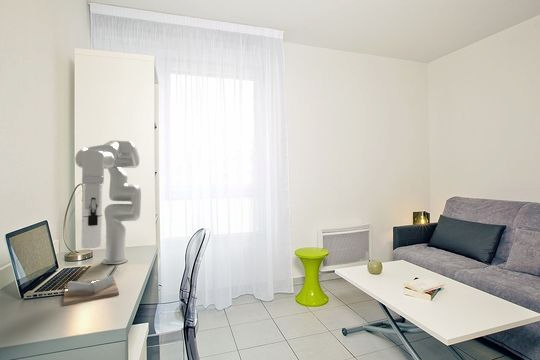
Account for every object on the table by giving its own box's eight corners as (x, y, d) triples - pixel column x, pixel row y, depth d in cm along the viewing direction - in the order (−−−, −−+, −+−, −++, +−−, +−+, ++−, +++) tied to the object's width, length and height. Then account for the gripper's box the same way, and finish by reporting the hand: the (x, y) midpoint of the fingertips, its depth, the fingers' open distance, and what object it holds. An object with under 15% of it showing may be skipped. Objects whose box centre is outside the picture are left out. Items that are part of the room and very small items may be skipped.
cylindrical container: (92, 249, 114) (93, 185, 113) (77, 247, 115) (78, 185, 115) (106, 244, 121) (107, 185, 120) (91, 243, 122) (92, 184, 122)
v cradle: (64, 287, 121) (65, 274, 121) (113, 279, 132) (113, 268, 132) (63, 305, 105) (63, 291, 105) (118, 294, 115) (119, 282, 115)
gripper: (81, 179, 123) (80, 221, 123) (82, 181, 108) (81, 228, 109) (101, 180, 127) (101, 220, 127) (105, 181, 113) (104, 226, 113)
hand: (92, 223), depth 118 cm, fingers closed on cylindrical container, 7 cm apart
